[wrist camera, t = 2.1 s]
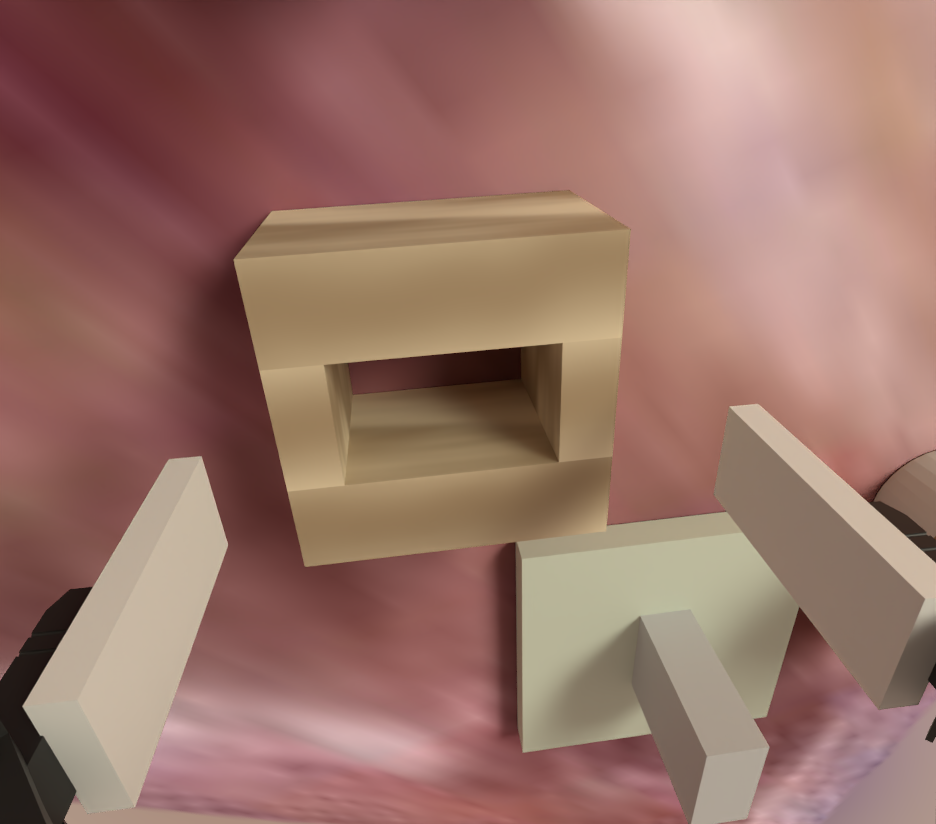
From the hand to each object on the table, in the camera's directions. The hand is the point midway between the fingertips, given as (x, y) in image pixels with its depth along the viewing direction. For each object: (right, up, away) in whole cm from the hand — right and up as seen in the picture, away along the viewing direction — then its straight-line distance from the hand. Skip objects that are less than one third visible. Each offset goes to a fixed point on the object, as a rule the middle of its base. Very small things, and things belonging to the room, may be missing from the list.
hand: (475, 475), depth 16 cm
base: (+9, -9, +17) cm, 21 cm away
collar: (-1, +4, +8) cm, 9 cm away
